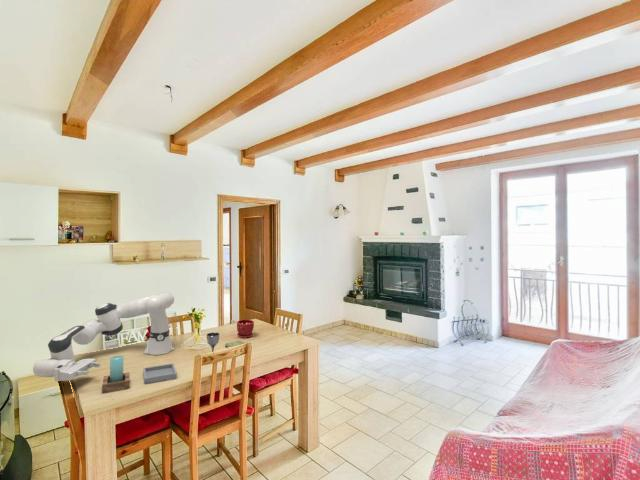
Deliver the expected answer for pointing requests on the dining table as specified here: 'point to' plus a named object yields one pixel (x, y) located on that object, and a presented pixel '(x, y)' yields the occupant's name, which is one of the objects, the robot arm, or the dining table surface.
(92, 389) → the dining table surface
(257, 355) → the dining table surface
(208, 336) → the wine glass
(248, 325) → the plant pot
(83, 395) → the dining table surface
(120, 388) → the cup holder
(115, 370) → the pillar candle
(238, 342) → the washcloth
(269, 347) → the dining table surface
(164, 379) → the tray
